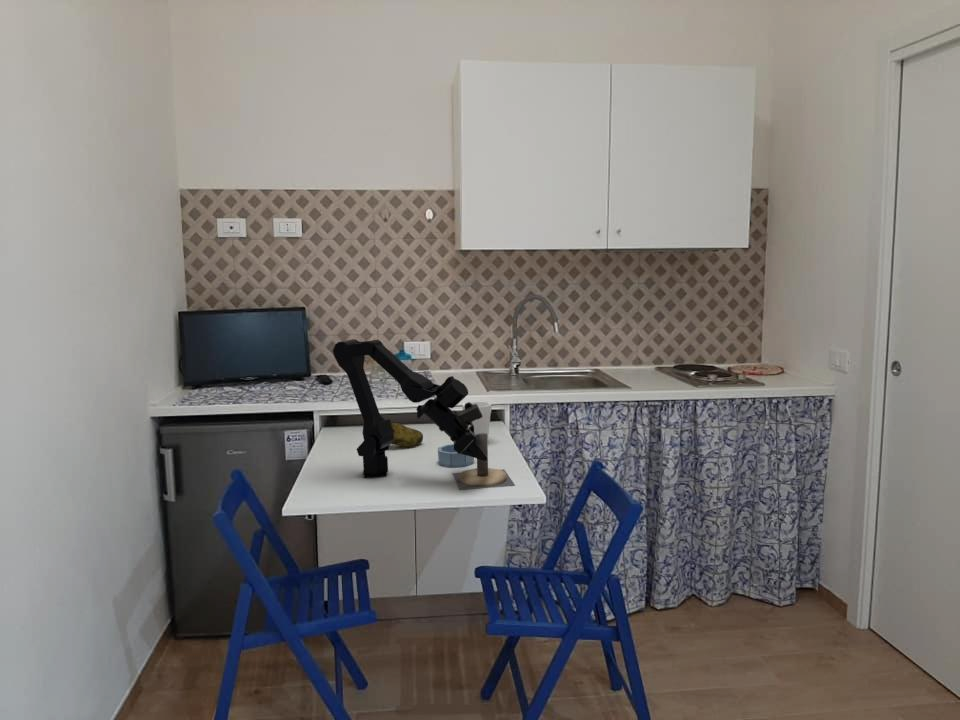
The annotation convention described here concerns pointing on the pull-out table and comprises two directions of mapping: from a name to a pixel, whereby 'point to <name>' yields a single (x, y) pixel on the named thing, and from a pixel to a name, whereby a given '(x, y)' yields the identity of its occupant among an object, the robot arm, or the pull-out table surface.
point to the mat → (464, 487)
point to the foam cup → (484, 422)
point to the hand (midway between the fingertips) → (485, 455)
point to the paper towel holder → (482, 469)
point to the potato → (406, 436)
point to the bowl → (453, 457)
